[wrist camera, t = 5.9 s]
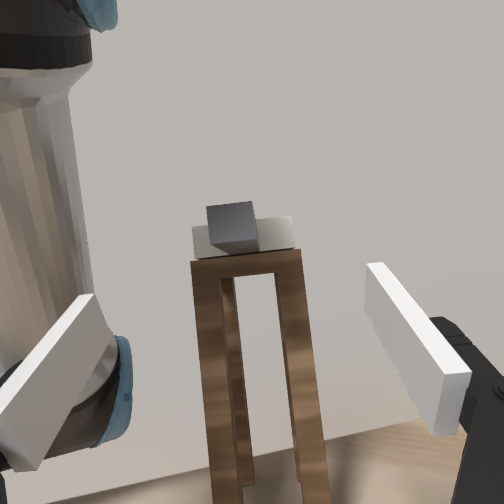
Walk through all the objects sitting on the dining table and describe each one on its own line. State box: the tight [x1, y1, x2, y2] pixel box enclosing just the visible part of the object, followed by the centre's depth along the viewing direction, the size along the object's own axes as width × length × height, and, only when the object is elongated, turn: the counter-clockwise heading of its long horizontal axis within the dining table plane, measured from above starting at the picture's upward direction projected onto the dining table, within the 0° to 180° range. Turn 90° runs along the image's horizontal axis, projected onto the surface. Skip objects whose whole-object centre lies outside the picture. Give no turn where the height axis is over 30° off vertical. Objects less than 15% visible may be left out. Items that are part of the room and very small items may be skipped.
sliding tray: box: [192, 201, 295, 260], centre depth 34 cm, size 27×10×3 cm, turn 178°
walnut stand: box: [190, 249, 331, 504], centre depth 38 cm, size 16×11×30 cm
